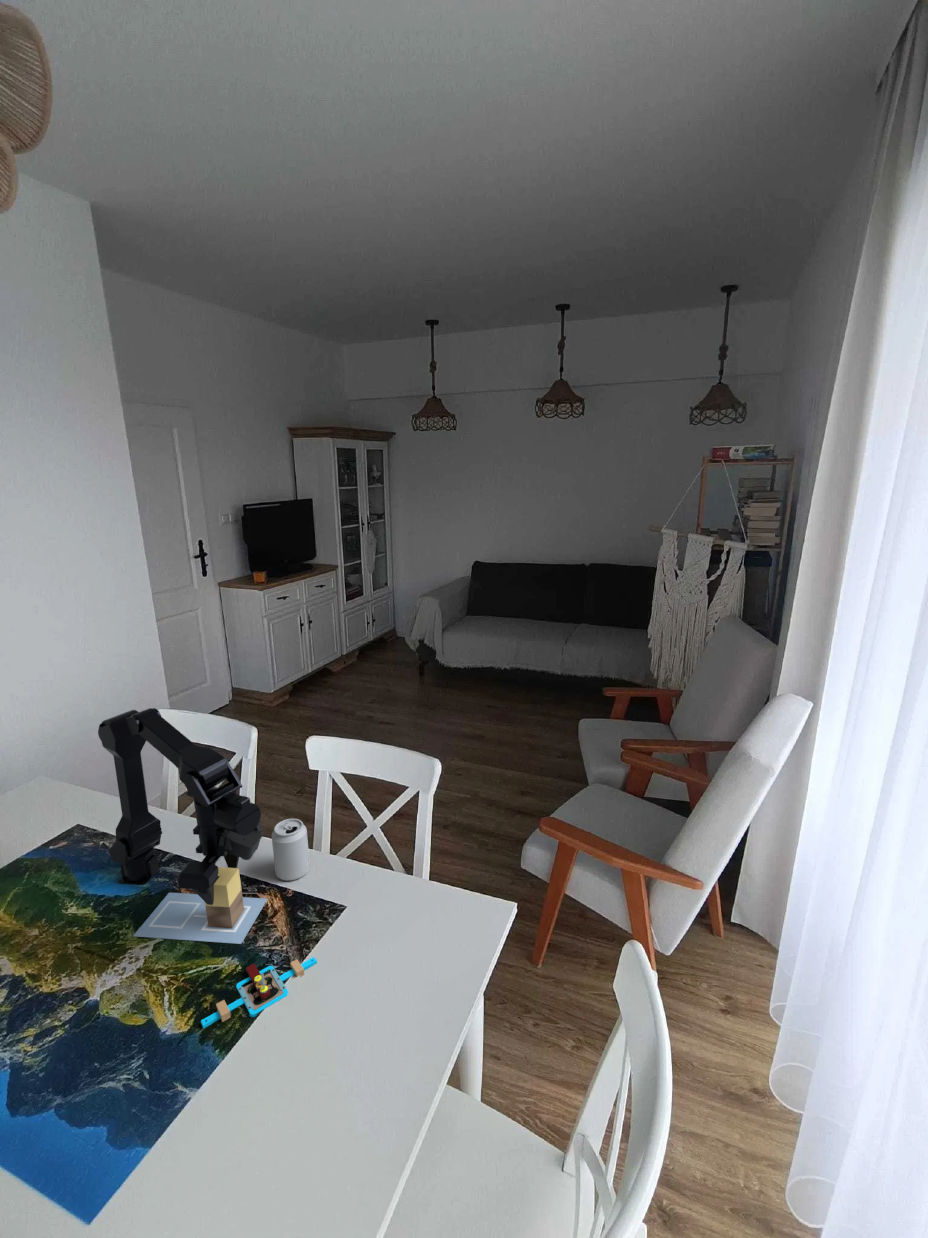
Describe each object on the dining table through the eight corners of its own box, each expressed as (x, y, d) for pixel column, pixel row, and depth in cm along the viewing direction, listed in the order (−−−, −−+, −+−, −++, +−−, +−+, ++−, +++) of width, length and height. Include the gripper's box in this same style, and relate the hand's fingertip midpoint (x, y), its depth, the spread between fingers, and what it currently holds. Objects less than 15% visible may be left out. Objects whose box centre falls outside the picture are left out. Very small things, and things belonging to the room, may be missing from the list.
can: (289, 888, 126) (284, 840, 123) (268, 874, 130) (263, 828, 127) (317, 870, 131) (313, 823, 128) (296, 857, 136) (292, 812, 133)
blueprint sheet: (133, 937, 113) (132, 935, 113) (169, 894, 124) (169, 892, 124) (241, 945, 111) (241, 943, 111) (267, 900, 122) (267, 898, 122)
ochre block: (205, 905, 114) (201, 884, 112) (218, 888, 118) (215, 867, 117) (229, 907, 113) (226, 885, 112) (241, 889, 118) (238, 868, 117)
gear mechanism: (193, 1005, 99) (209, 1046, 92) (189, 980, 98) (205, 1019, 91) (303, 945, 111) (325, 977, 104) (301, 922, 110) (323, 953, 103)
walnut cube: (208, 927, 115) (205, 905, 114) (220, 908, 120) (218, 888, 118) (232, 928, 114) (229, 907, 113) (244, 910, 119) (241, 889, 118)
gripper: (229, 851, 101) (239, 926, 105) (273, 794, 119) (280, 859, 123) (169, 848, 102) (181, 922, 106) (222, 791, 120) (230, 856, 124)
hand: (222, 887), depth 115 cm, fingers open, 9 cm apart
